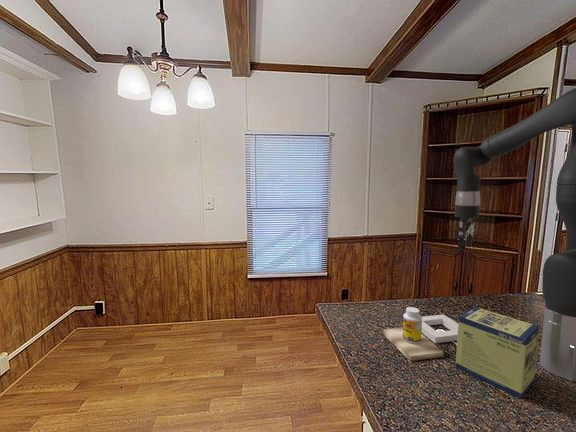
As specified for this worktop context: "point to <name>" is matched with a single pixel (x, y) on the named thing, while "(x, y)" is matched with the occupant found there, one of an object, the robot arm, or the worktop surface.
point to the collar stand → (442, 335)
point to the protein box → (497, 350)
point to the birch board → (413, 345)
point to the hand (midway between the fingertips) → (464, 248)
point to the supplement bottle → (412, 325)
